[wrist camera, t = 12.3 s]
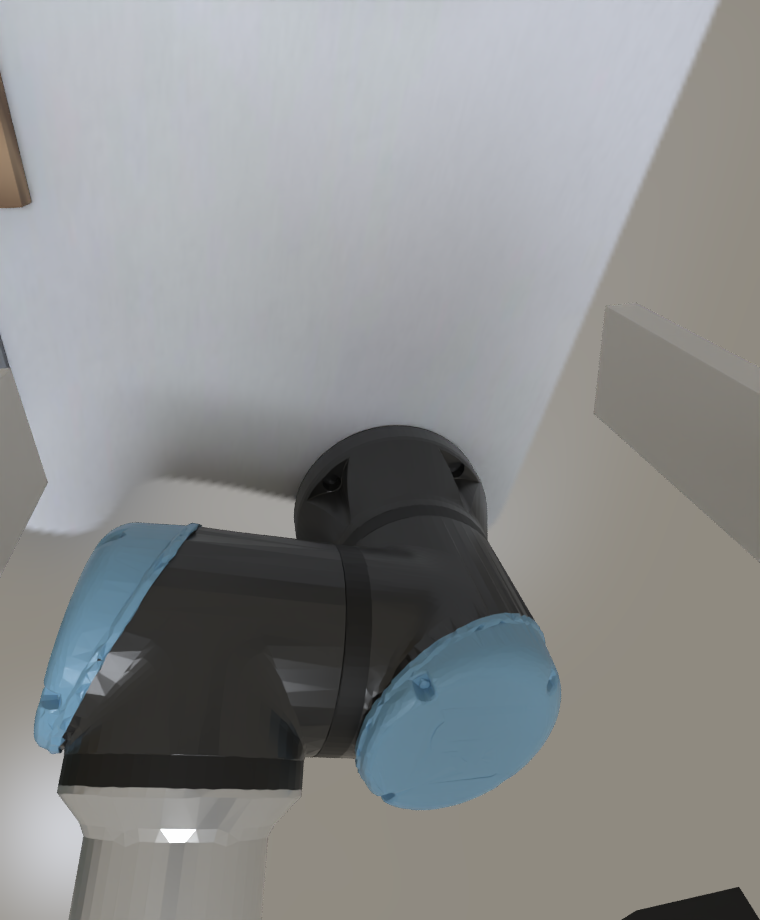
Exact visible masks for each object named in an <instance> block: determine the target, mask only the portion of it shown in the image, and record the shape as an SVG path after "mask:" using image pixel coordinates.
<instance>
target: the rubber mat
mask: <svg viewBox="0 0 760 920" xmlns="http://www.w3.org/2000/svg"><path fill="white" fill-rule="evenodd" d="M3 368H9V364H8V361H7V358H6V354H5V351H4V347H3V344H2V340H1V337H0V369H3Z"/></svg>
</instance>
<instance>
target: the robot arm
mask: <svg viewBox="0 0 760 920" xmlns="http://www.w3.org/2000/svg"><path fill="white" fill-rule="evenodd" d="M595 398H596V399H595V407H594V414H595V415H596V416H597V417H598V418H599V419H600V420H601V421H602V422H604V423H605V424H606V425H607V426H608V427H609V428H610V429H611V430H612V431H614V432H615V433H616V434H617V435H618V436H619V437H620V438H621V439H623V440H624V441H625V442H626V443H627V444H628V445H629V446H630V447H632V449H634V450H635V451H636V452H637V453H638V454H639V455H640V456H641V457H643V458H644V459H645V460H646V461H647V462H648V463H649V464H650V465H651V466H653V467H654V468H655V469H656V470H657V471H658V472H659V473H660V474H661V475H663V476H664V477H665V478H666V479H667V480H668V481H669V482H670V483H671V484H673V485H674V486H675V487H676V488H677V489H678V490H679V491H680V492H682V493H683V494H684V495H685V496H686V497H687V498H688V499H689V500H690V501H692V502H693V503H694V504H695V505H696V506H697V507H698V508H699V509H700V510H702V511H703V512H704V513H705V514H706V515H707V516H708V517H709V518H711V519H712V520H713V521H714V522H715V523H716V524H717V525H718V526H719V527H720V528H722V529H723V530H724V531H725V532H726V533H727V534H728V535H729V536H730V537H732V538H733V539H734V540H735V541H736V542H737V543H738V544H740V546H742V547H743V548H744V549H745V550H746V551H747V552H748V553H750V554H751V555H752V556H753V557H754V558H755V559H756V560H757V561H758V562H760V367H759V366H757V365H755V364H753V363H751V362H749V361H747V360H745V359H744V358H742V357H740V356H738V355H736V354H734V353H732V352H730V351H728V350H726V349H724V348H722V347H720V346H719V345H717V344H715V343H713V342H711V341H709V340H707V339H705V338H703V337H701V336H699V335H697V334H696V333H694V332H692V331H690V330H688V329H686V328H684V327H682V326H680V325H678V324H676V323H674V322H672V321H671V320H669V319H667V318H665V317H663V316H661V315H659V314H657V313H655V312H653V311H651V310H649V309H648V308H645V307H643V306H642V305H640V304H638V303H629V304H618V305H609V306H605V315H604V324H603V333H602V343H601V351H600V361H599V370H598V379H597V388H596V397H595ZM47 483H48V481H47V478H46V475H45V472H44V469H43V466H42V463H41V460H40V457H39V454H38V451H37V448H36V445H35V442H34V439H33V435H32V432H31V429H30V426H29V423H28V420H27V417H26V414H25V411H24V408H23V405H22V402H21V399H20V396H19V393H18V390H17V386H16V383H15V380H14V377H13V374H12V371H11V368H3V369H0V577H1V575H2V573H3V571H4V569H5V567H6V565H7V563H8V561H9V559H10V557H11V555H12V553H13V551H14V549H15V547H16V545H17V543H18V541H19V539H20V537H21V535H22V533H23V531H24V529H25V527H26V525H27V523H28V521H29V519H30V517H31V515H32V513H33V511H34V509H35V507H36V505H37V503H38V501H39V499H40V497H41V495H42V493H43V491H44V489H45V487H46V485H47ZM294 523H295V531H296V538H297V539H292V538H284V537H276V536H267V535H258V534H250V533H242V532H233V531H227V530H219V529H212V528H205V527H202V525H200V524H195V523H191V524H189V525H187V526H185V525H168V524H150V523H139V522H136V523H128V524H124V525H121V526H119V527H117V528H115V529H113V530H112V531H111V532H109V533H108V534H107V535H106V536H105V537H104V538H103V539H102V540H101V541H100V542H99V544H98V545H97V546H96V548H95V550H94V551H93V553H92V554H91V556H90V558H89V560H88V561H87V563H86V565H85V567H84V569H83V572H82V574H81V576H80V578H79V580H78V583H77V585H76V587H75V590H74V592H73V595H72V597H71V599H70V602H69V605H68V607H67V610H66V612H65V615H64V618H63V621H62V623H61V626H60V630H59V632H58V635H57V638H56V641H55V644H54V647H53V650H52V653H51V657H50V660H49V663H48V667H47V671H46V675H45V678H44V685H45V687H44V689H43V691H42V695H41V699H40V703H39V706H38V708H37V711H36V716H35V723H34V738H35V741H36V742H37V744H38V745H39V746H40V747H42V748H45V749H47V750H48V751H49V752H50V753H51V754H56V753H61V752H62V750H63V749H64V759H63V764H62V769H61V775H60V779H59V784H58V790H57V793H58V795H59V796H60V797H61V799H62V800H63V801H64V803H65V804H66V805H67V807H68V808H69V809H70V811H71V812H72V813H73V815H74V816H75V817H76V819H77V820H78V821H79V823H80V826H81V830H82V833H83V836H84V837H83V842H82V848H81V853H80V859H79V865H78V871H77V876H76V882H75V887H74V893H73V898H72V904H71V909H70V915H69V920H261V919H262V906H263V894H264V880H265V868H266V854H267V842H268V836H269V834H270V832H271V830H272V829H273V827H274V825H275V823H277V822H278V820H279V819H280V818H281V817H282V816H283V815H284V814H285V813H286V812H287V811H288V810H289V809H290V808H291V807H292V806H293V805H294V804H295V803H296V802H297V801H298V800H299V799H300V798H301V795H302V779H303V763H304V759H305V757H326V758H353V759H355V762H356V767H357V768H358V773H359V774H360V776H361V778H362V779H363V780H364V781H365V783H366V785H367V786H368V788H369V790H370V791H371V792H372V793H373V794H375V795H377V796H381V797H382V799H383V801H384V802H386V803H387V804H389V805H392V806H395V807H398V808H403V809H411V810H431V809H439V808H444V807H449V806H453V805H456V804H460V803H463V802H466V801H468V800H471V799H473V798H476V797H478V796H481V795H483V794H485V793H487V792H488V791H490V790H492V789H494V788H496V787H497V786H498V785H499V784H501V783H502V782H503V781H505V780H506V779H508V778H510V777H511V776H513V775H515V774H516V773H517V772H518V771H519V770H521V769H522V768H523V767H524V766H525V765H526V764H527V763H528V762H529V761H530V760H531V759H532V758H533V757H534V756H535V754H536V753H537V752H538V751H539V750H540V748H541V747H542V746H543V744H544V743H545V741H546V740H547V738H548V737H549V735H550V733H551V731H552V729H553V727H554V725H555V722H556V719H557V716H558V713H559V708H560V702H561V685H560V680H559V675H558V672H557V670H556V668H555V665H554V663H553V660H552V658H551V656H550V654H549V652H548V650H547V647H546V645H545V638H544V635H543V632H542V631H541V630H540V627H539V626H538V625H537V623H536V622H535V620H534V619H533V617H532V615H531V614H530V612H529V610H528V608H527V607H526V605H525V603H524V602H523V600H522V598H521V597H520V595H519V593H518V591H517V590H516V588H515V586H514V585H513V583H512V581H511V580H510V578H509V576H508V575H507V573H506V571H505V569H504V568H503V566H502V564H501V563H500V561H499V559H498V557H497V556H496V554H495V552H494V551H493V549H492V547H491V546H490V544H489V542H488V540H487V503H486V497H485V493H484V489H483V486H482V483H481V481H480V479H479V477H478V475H477V473H476V472H475V470H474V469H473V467H472V465H471V464H470V462H469V461H468V459H467V458H466V456H465V455H464V454H463V453H462V452H461V451H460V450H459V449H458V448H457V447H456V446H455V445H454V444H453V443H451V442H450V441H448V440H447V439H445V438H444V437H442V436H440V435H438V434H436V433H433V432H431V431H427V430H424V429H420V428H416V427H409V426H386V427H379V428H374V429H370V430H366V431H363V432H360V433H357V434H355V435H353V436H350V437H348V438H346V439H344V440H343V441H341V442H339V443H338V444H336V445H335V446H333V447H332V448H331V449H329V450H328V451H327V452H326V453H324V454H323V455H322V456H321V457H320V458H319V459H318V460H317V461H316V462H315V464H314V465H313V466H312V467H311V469H310V470H309V471H308V473H307V475H306V476H305V478H304V480H303V482H302V484H301V486H300V488H299V491H298V494H297V497H296V502H295V508H294ZM622 920H760V919H759V918H758V916H757V915H756V913H755V912H754V910H753V908H752V907H751V905H750V904H749V902H748V900H747V899H746V897H745V896H744V894H743V892H742V891H741V889H740V888H739V887H737V888H732V889H728V890H724V891H719V892H715V893H711V894H706V895H702V896H698V897H693V898H689V899H684V900H681V901H676V902H672V903H667V904H663V905H659V906H654V907H650V908H646V909H641V910H637V911H635V912H633V913H632V914H630V915H628V916H627V917H625V918H624V919H622Z"/></svg>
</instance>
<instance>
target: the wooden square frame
mask: <svg viewBox="0 0 760 920" xmlns="http://www.w3.org/2000/svg"><path fill="white" fill-rule="evenodd" d="M30 203H32V202H31V198H30V194H29V189H28V185H27V181H26V177H25V173H24V169H23V165H22V161H21V156H20V152H19V148H18V144H17V140H16V136H15V132H14V128H13V124H12V119H11V115H10V111H9V107H8V103H7V99H6V95H5V91H4V86H3V82H2V78H1V74H0V208H16V207H24V206H26V205H28V204H30Z"/></svg>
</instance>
